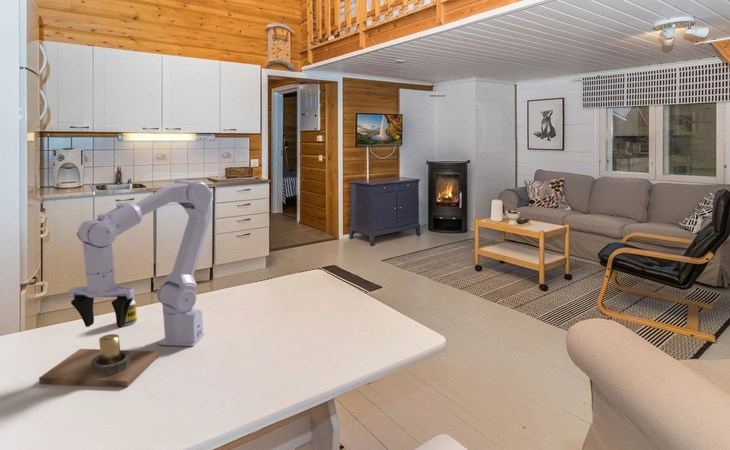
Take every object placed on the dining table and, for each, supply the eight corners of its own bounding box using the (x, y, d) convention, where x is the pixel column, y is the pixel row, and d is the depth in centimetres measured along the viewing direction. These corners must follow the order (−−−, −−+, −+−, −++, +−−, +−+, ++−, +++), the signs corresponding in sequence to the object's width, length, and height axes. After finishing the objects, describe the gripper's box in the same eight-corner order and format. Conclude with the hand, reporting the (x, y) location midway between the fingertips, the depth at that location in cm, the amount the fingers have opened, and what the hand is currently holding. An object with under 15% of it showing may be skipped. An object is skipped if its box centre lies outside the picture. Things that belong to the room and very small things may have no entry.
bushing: (124, 361, 107) (122, 334, 106) (115, 369, 103) (113, 341, 102) (108, 361, 107) (105, 333, 106) (98, 369, 103) (95, 341, 102)
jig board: (158, 356, 113) (157, 344, 112) (127, 387, 99) (126, 372, 99) (80, 354, 114) (79, 341, 113) (39, 383, 100) (37, 369, 99)
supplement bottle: (129, 326, 131) (127, 299, 129) (115, 325, 131) (112, 297, 130) (140, 320, 135) (138, 293, 134) (126, 318, 136) (124, 292, 134)
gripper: (57, 275, 100) (64, 331, 103) (121, 276, 100) (126, 333, 102) (77, 266, 107) (83, 319, 110) (137, 267, 107) (142, 321, 109)
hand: (105, 325), depth 106 cm, fingers open, 7 cm apart
